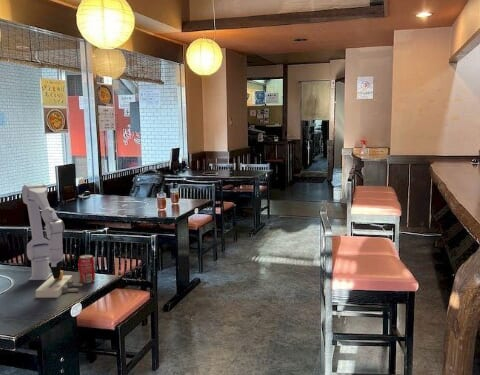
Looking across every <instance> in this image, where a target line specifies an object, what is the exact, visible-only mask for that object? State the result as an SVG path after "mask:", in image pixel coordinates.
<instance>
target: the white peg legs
mask: <svg viewBox="0 0 480 375" xmlns="http://www.w3.org/2000/svg"><path fill="white" fill-rule="evenodd" d="M83 285H84V283H81V282H79V283H78V282H77V283H74V282H73V280H72V281H68V286H63V293H62V294H64V293H66V294H67V293H78V292H79V288H73V287H83Z"/></svg>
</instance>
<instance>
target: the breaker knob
mask: <svg viewBox="0 0 480 375" xmlns="http://www.w3.org/2000/svg"><path fill="white" fill-rule="evenodd" d="M63 275H64V270H62V269H61V271H60V277H59V278H58V279H62V278H63Z"/></svg>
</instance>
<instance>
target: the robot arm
mask: <svg viewBox="0 0 480 375" xmlns="http://www.w3.org/2000/svg"><path fill="white" fill-rule="evenodd" d="M48 190H49V189H48V186H47V185H46V183H37V184H24V185H23V186H22V188H21V196H22V202H23V204H25V205H26V207H27V212H28V219H29V225H30V231H31V240H30V241H29V242H28V243H27V244H26V256H27V258H28V260H29V261H30V262H31V277H29V278H28V281H47V280H48V279H49V278H50V277H51V276H52V275H53V277H54V279H58V278H59V277H60V271H61V270H62V266H63V263H64V254H63V253H64V252H63V251H64V250H63V247H64V246H63V234H64V232H65V223H64V221H63V220H62V219H61V218H59V217H58V215H57V213H56V211H55V208H52V207H51V206H50V203H49V201H48V192H49V191H48ZM40 211H41V212H40ZM42 220H43V222H44V224H45V233H46V238H45V237H44V232H43V231H44V230H43V225H42Z"/></svg>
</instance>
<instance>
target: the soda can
mask: <svg viewBox="0 0 480 375" xmlns="http://www.w3.org/2000/svg"><path fill="white" fill-rule="evenodd" d="M77 265H78V269H77V270H78V281H79V283H83V284H91V283H92V282H94V281H95V278H96V271H95V270H96V269H95V268H96V266H95V258H94V256H93V255H92V254H82V255H80V256H79V259H78V264H77Z"/></svg>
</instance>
